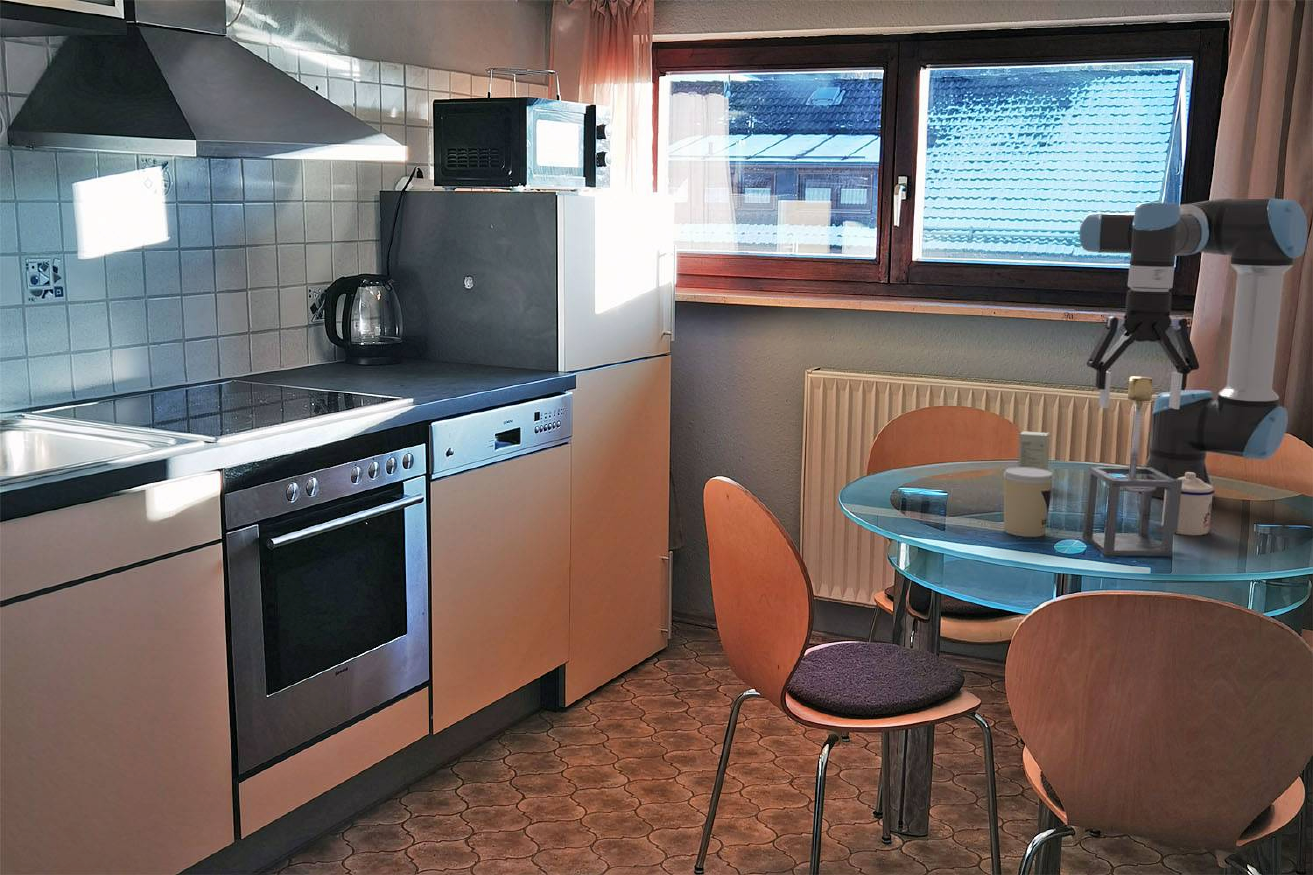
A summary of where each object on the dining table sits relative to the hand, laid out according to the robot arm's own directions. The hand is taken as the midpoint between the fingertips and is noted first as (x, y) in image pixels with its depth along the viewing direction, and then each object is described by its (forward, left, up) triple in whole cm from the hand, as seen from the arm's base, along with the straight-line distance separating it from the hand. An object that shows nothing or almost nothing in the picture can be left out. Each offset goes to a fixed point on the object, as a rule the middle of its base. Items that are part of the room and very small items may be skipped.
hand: (1138, 407), depth 219 cm
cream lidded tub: (+16, -10, -27) cm, 33 cm away
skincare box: (+2, -50, -27) cm, 57 cm away
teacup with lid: (-17, -14, -27) cm, 35 cm away
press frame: (-2, 0, -26) cm, 27 cm away
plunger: (0, 0, -15) cm, 15 cm away
